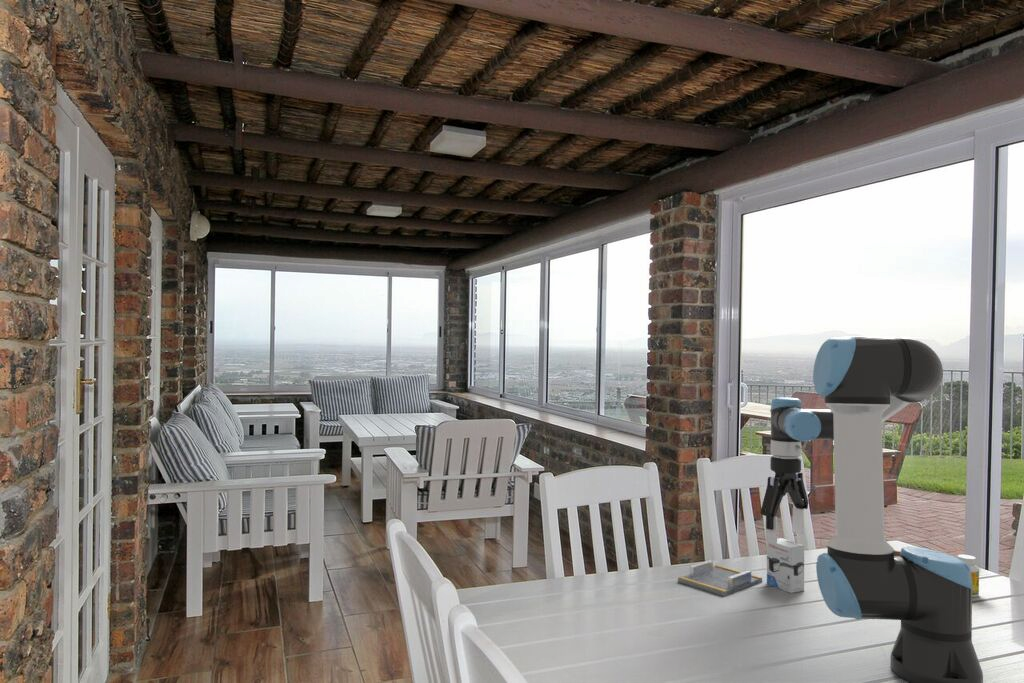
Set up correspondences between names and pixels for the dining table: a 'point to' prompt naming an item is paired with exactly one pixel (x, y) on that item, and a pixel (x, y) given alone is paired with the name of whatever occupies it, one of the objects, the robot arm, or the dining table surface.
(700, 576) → the grey tray
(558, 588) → the dining table surface
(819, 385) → the robot arm
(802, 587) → the ink box
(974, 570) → the supplement bottle
